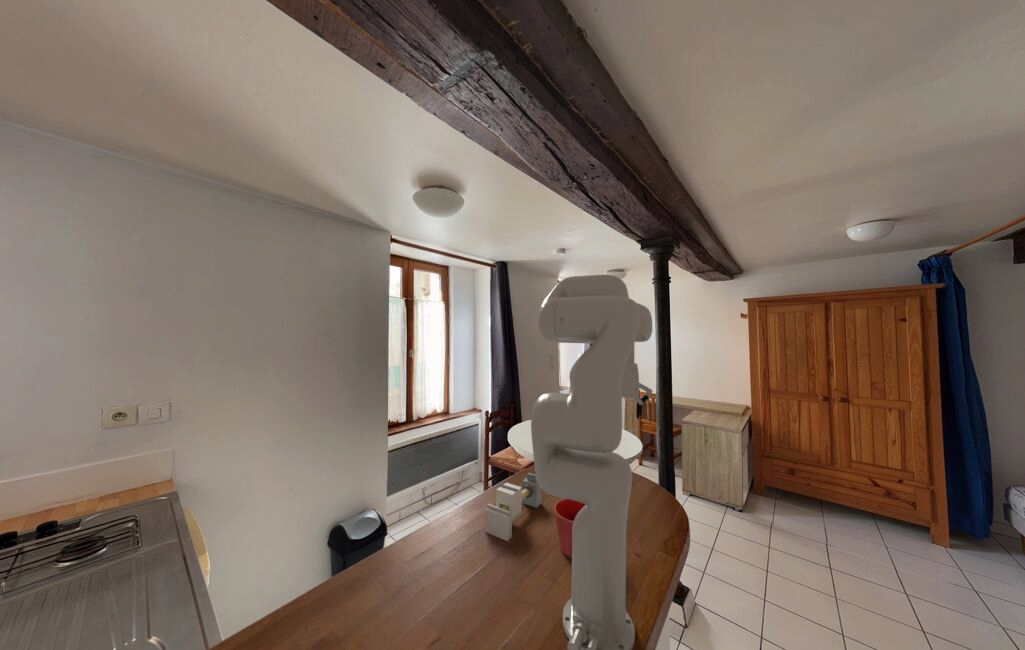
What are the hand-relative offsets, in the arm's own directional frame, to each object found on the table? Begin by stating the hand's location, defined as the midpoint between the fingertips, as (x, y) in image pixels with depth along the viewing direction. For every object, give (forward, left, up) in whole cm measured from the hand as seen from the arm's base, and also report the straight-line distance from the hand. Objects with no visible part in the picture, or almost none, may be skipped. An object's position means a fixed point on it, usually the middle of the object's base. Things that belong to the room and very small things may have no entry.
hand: (620, 415), depth 94 cm
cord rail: (-17, +25, -29) cm, 42 cm away
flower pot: (-21, +6, -30) cm, 37 cm away
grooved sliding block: (-22, +25, -27) cm, 43 cm away
